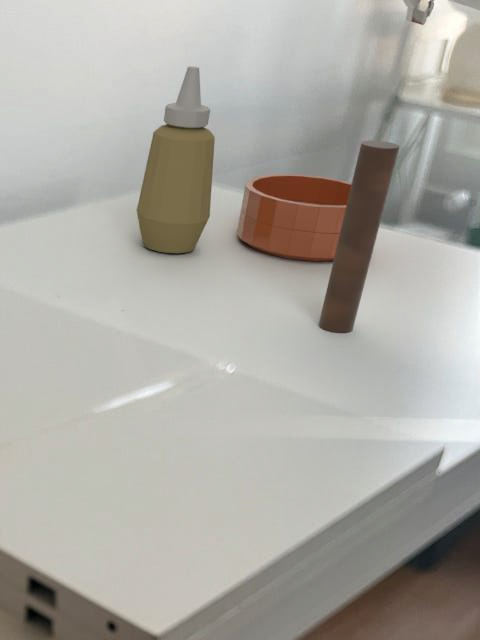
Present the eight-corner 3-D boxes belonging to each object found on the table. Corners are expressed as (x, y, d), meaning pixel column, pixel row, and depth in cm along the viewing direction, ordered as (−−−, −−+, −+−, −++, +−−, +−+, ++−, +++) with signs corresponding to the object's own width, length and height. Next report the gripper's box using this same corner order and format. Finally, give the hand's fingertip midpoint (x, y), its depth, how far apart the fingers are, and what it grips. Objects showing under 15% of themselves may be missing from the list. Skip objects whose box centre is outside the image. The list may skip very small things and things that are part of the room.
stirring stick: (346, 321, 99) (392, 141, 90) (357, 333, 97) (405, 149, 87) (314, 320, 99) (356, 139, 90) (324, 332, 97) (368, 147, 87)
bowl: (341, 228, 126) (354, 176, 123) (381, 266, 114) (396, 209, 111) (224, 224, 125) (233, 171, 122) (252, 261, 114) (263, 204, 110)
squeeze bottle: (133, 234, 120) (154, 58, 109) (203, 240, 119) (231, 64, 109) (131, 254, 114) (153, 70, 103) (204, 261, 113) (234, 76, 102)
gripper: (690, -110, 66) (624, 41, 79) (394, -189, 73) (378, -37, 86) (639, -25, 66) (581, 111, 79) (348, -111, 73) (339, 28, 86)
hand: (474, 34), depth 83 cm, fingers open, 8 cm apart
